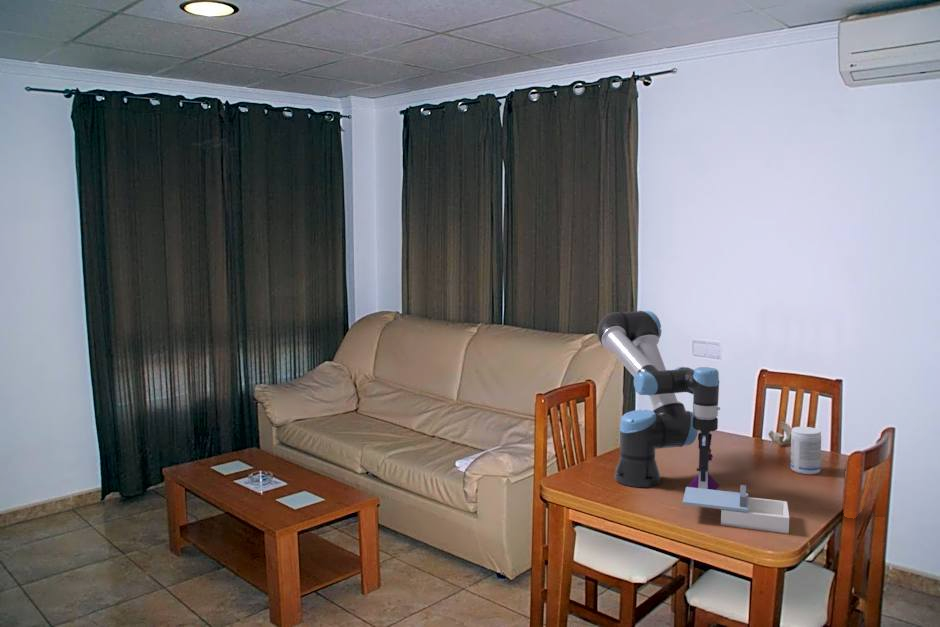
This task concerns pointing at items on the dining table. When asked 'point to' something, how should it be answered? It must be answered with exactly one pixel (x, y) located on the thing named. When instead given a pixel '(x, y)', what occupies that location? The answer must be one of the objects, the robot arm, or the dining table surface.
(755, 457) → the dining table surface
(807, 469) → the supplement tub
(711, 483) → the perfume bottle
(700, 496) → the lid
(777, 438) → the beige irregular lump
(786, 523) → the storage box
